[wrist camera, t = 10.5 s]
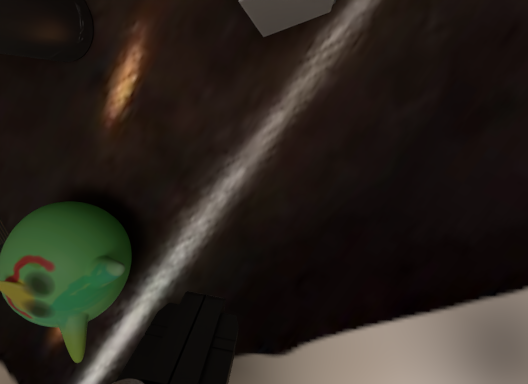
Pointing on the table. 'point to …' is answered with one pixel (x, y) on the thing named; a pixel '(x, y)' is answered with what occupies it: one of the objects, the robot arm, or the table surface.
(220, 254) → the table surface
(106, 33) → the table surface
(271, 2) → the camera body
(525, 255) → the table surface
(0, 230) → the cage light
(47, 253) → the toy bird
